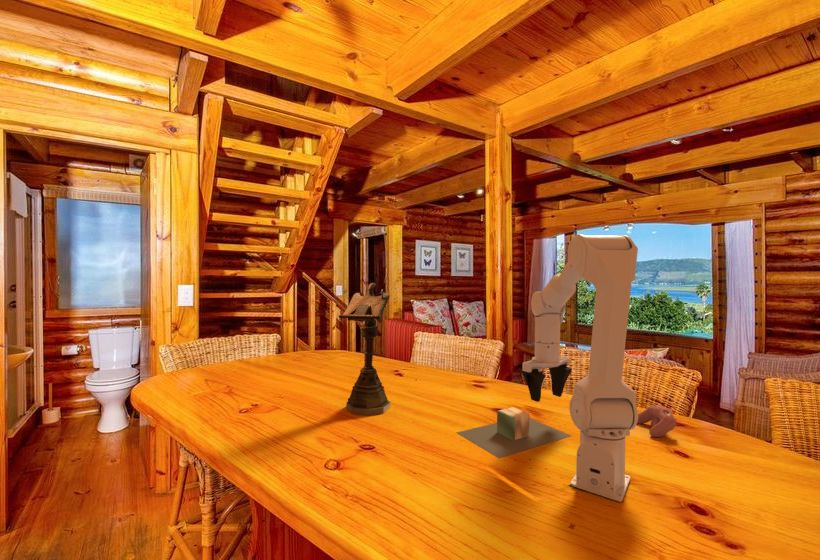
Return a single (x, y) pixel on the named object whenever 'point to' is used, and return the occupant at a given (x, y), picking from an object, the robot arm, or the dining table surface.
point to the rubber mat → (505, 446)
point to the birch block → (513, 423)
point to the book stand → (367, 354)
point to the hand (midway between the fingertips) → (546, 398)
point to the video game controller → (658, 420)
